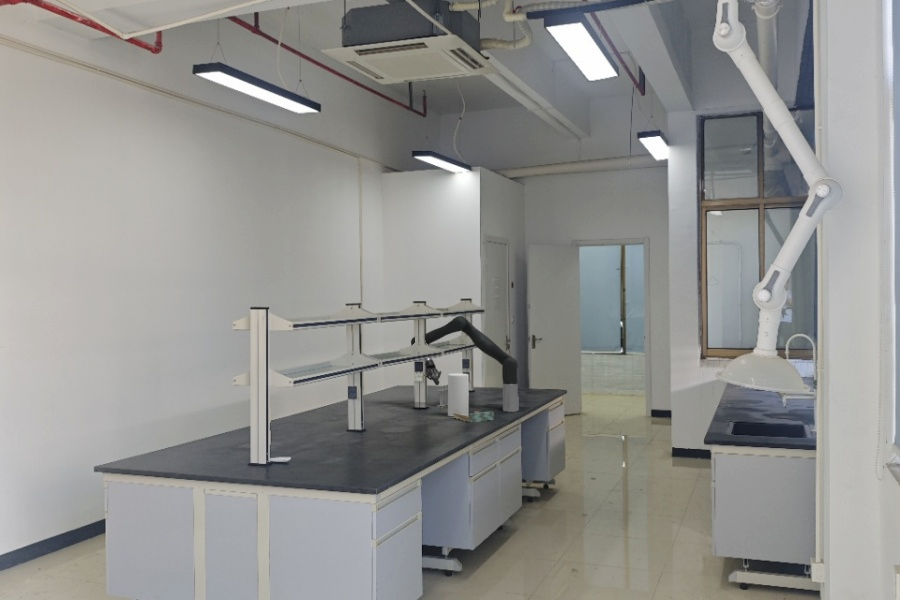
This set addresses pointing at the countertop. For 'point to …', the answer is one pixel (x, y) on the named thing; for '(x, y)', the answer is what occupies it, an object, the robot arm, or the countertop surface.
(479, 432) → the countertop surface
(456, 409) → the cylinder
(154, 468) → the countertop surface
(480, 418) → the cradle
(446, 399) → the test tube rack
